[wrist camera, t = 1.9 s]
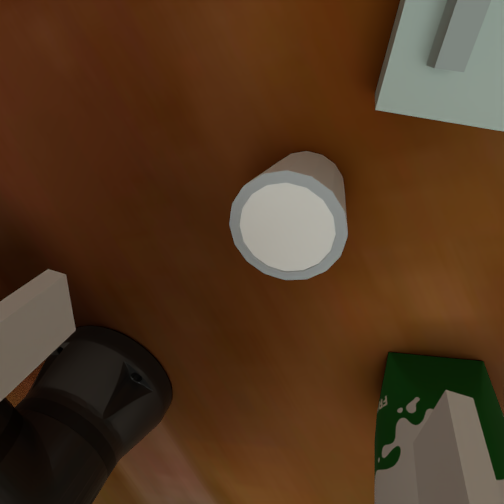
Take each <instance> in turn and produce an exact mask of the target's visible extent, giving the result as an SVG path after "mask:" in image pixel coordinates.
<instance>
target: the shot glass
mask: <svg viewBox="0 0 504 504" xmlns="http://www.w3.org/2000/svg"><path fill="white" fill-rule="evenodd" d="M229 225H230V229H231V233H232V237H233V240H234V244H235V246H236V247H237V248H238V250H239V251H240V252H241V254H242V255H243V257H244V258H245V259H246V261H247V262H248V263H250V264H251V265H253V266H254V267H256V268H257V269H258V270H260V271H261V272H263V273H264V274H267V275H270V276H273V277H277V278H280V279H283V280H300V279H308V278H311V277H313V276H316V275H318V274H320V273H323V272H325V271H327V270H328V269H329V268H330V267H331V266H332V265H333V264H334V263H335V261H336V260H337V259H338V258H339V257H340V256H341V254H342V251H343V248H344V245H345V243H346V240H347V237H348V230H347V216H346V202H345V190H344V181H343V177H342V175H341V173H340V172H339V170H338V168H337V166H336V165H335V164H334V163H333V162H332V161H330V160H329V159H327V158H326V157H325V156H323V155H321V154H317V153H313V152H309V151H304V152H298V153H291V154H290V155H288V156H287V157H285V158H283V159H282V160H280V161H279V162H277V163H276V164H274V165H273V166H271V167H270V168H269V169H267V170H266V171H264V172H263V173H261V174H260V175H258V176H257V177H256V178H254V179H253V180H251V181H250V182H248V183H247V184H246V185H244V186H243V188H242V189H241V191H240V192H239V194H238V195H237V197H236V198H235V200H234V201H233V203H232V208H231V215H230V222H229Z"/></svg>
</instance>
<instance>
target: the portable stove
mask: <svg viewBox="0 0 504 504" xmlns="http://www.w3.org/2000/svg"><path fill="white" fill-rule="evenodd" d="M375 110H379V111H385V112H391V113H397V114H403V115H409V116H415V117H421V118H427V119H433V120H438V121H444V122H450V123H456V124H462V125H468V126H474V127H480V128H486V129H492V130H498V131H504V0H400V3H399V7H398V11H397V14H396V18H395V22H394V25H393V29H392V33H391V36H390V40H389V44H388V47H387V51H386V55H385V59H384V62H383V66H382V70H381V73H380V77H379V81H378V84H377V88H376V92H375Z"/></svg>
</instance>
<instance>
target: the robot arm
mask: <svg viewBox="0 0 504 504" xmlns="http://www.w3.org/2000/svg"><path fill="white" fill-rule="evenodd" d="M46 358H47V359H46ZM45 359H46V361H45V363H44V365H43V366H42V368H41V370H40V372H39V374H38V376H37V378H36V379H35V381H34V383H33V385H32V387H31V389H30V390H29V392H28V394H27V395H26V397H25V398H24V399H23V400H22V401H21V402H20V403H19V404H18V405H17V406H16V407H15V408H14V407H13V405H12V404H11V403H10V402H9V401H8V400H7V399H6V398H5V397H6V396H7V395H8V394H9V393H10V392H11V391H12V390H13V389H14V388H15V387H16V386H17V385H19V384H20V383H21V382H22V381H23V380H24V379H25V378H26V377H27V376H28V375H29V374H30V373H31V372H32V371H33V370H34V369H35V368H36V367H38V366H39V365H40V364H41V363H42V362H43V361H44V360H45ZM171 400H172V389H171V385H170V382H169V379H168V377H167V375H166V373H165V372H164V370H163V368H162V367H161V366H160V364H159V363H158V362H157V361H156V359H155V358H154V357H153V356H152V355H151V354H150V353H149V352H148V351H146V350H145V349H144V348H143V347H142V346H140V345H139V344H138V343H136V342H135V341H133V340H132V339H130V338H128V337H126V336H124V335H122V334H120V333H118V332H116V331H113V330H110V329H107V328H103V327H97V326H82V327H78V328H75V323H74V317H73V311H72V305H71V300H70V294H69V288H68V283H67V277H66V274H63V273H60V272H56V271H53V270H50V269H47V270H46V271H44V272H43V273H41V274H40V275H38V276H37V277H35V278H34V279H33V280H31V281H30V282H28V283H27V284H25V285H24V286H22V287H21V288H19V289H18V290H16V291H15V292H13V293H12V294H10V295H9V296H7V297H6V298H4V299H3V300H2V301H0V504H92V503H93V501H94V500H95V498H96V496H97V495H98V493H99V492H100V490H101V488H102V487H103V485H104V483H105V482H106V480H107V478H108V477H109V475H110V473H111V472H112V470H113V469H114V467H115V466H116V464H117V463H118V461H119V460H120V459H121V458H122V457H123V456H124V455H125V454H126V453H127V452H128V451H130V450H131V449H132V448H133V447H134V446H135V445H136V444H137V443H138V442H139V441H141V440H142V439H143V438H144V437H145V436H146V435H147V434H148V433H149V432H151V431H152V430H153V429H154V428H155V427H156V426H157V425H158V424H159V422H160V421H161V420H162V418H163V416H164V415H165V413H166V411H167V409H168V408H169V406H170V404H171ZM413 449H414V460H415V470H416V480H417V491H418V501H419V504H503V502H502V499H501V495H500V492H499V488H498V485H497V481H496V478H495V474H494V470H493V467H492V463H491V460H490V456H489V453H488V449H487V446H486V442H485V438H484V435H483V431H482V428H481V424H480V421H479V417H478V414H477V410H476V407H475V403H474V399H473V398H471V397H468V396H465V395H461V394H458V393H455V392H451V391H448V390H445V392H444V393H443V395H442V397H441V398H440V400H439V401H438V403H437V405H436V406H435V408H434V410H433V411H432V413H431V414H430V416H429V418H428V419H427V421H426V423H425V424H424V426H423V427H422V429H421V431H420V432H419V434H418V435H417V437H416V439H415V440H414V442H413Z"/></svg>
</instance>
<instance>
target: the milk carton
mask: <svg viewBox="0 0 504 504" xmlns="http://www.w3.org/2000/svg"><path fill="white" fill-rule="evenodd" d="M445 390H448V391H451V392H455V393H458V394H461V395H465V396H468V397H471V398H473V399H474V403H475V407H476V410H477V414H478V417H479V421H480V424H481V428H482V431H483V435H484V438H485V442H486V446H487V449H488V453H489V456H490V460H491V463H492V467H493V470H494V474H495V478H496V481H497V485H498V488H499V492H500V495H501V499H502V502H503V504H504V416H503V413H502V410H501V408H500V405H499V402H498V400H497V397H496V394H495V392H494V389H493V386H492V384H491V381H490V378H489V375H488V373H487V370H486V367H485V365H484V362H483V361H475V360H465V359H454V358H444V357H434V356H423V355H413V354H402V353H392V352H389V353H388V358H387V363H386V369H385V374H384V379H383V384H382V389H381V394H380V400H379V405H378V410H377V419H376V432H375V504H419V501H418V491H417V480H416V470H415V460H414V449H413V442H414V440H415V439H416V437H417V435H418V434H419V432H420V431H421V429H422V427H423V426H424V424H425V423H426V421H427V419H428V418H429V416H430V414H431V413H432V411H433V410H434V408H435V406H436V405H437V403H438V401H439V400H440V398H441V397H442V395H443V393H444V392H445Z"/></svg>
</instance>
